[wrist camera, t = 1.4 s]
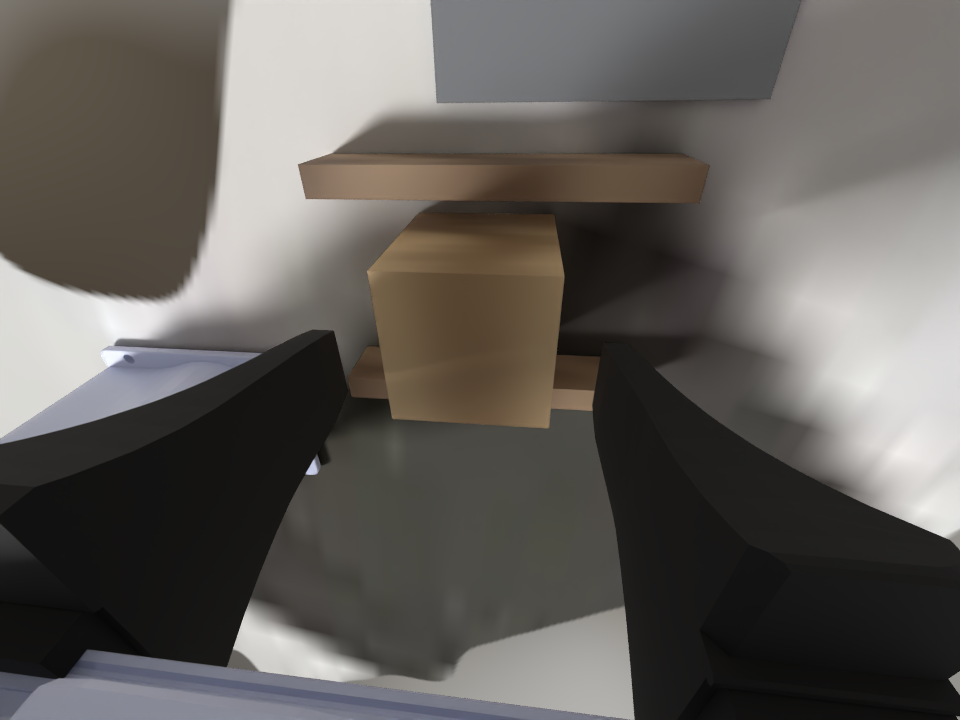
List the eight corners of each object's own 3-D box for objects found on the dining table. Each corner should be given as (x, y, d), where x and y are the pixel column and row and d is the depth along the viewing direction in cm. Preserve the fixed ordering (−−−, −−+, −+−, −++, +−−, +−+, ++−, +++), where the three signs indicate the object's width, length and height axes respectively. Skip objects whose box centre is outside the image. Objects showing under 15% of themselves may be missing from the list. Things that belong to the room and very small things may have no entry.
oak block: (430, 328, 18) (392, 418, 13) (419, 212, 16) (366, 271, 11) (543, 333, 18) (548, 428, 13) (553, 213, 15) (564, 276, 10)
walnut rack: (370, 364, 20) (351, 397, 18) (331, 153, 15) (297, 164, 13) (631, 377, 19) (643, 413, 16) (682, 153, 14) (709, 165, 12)
